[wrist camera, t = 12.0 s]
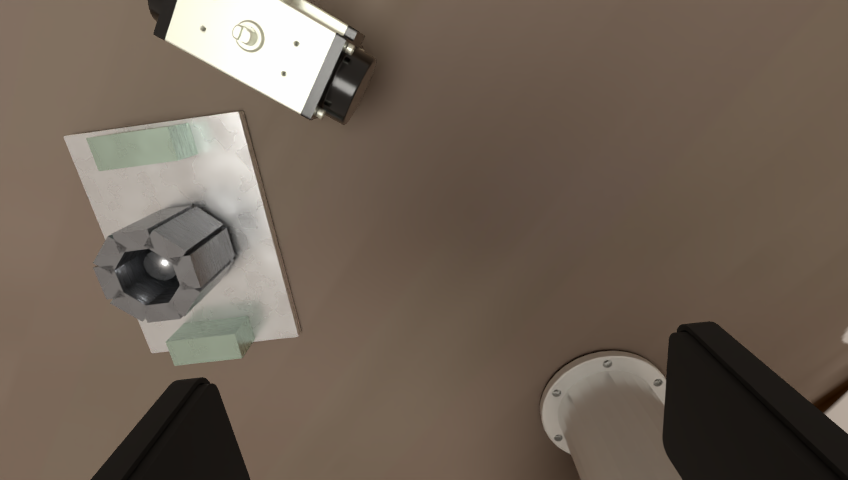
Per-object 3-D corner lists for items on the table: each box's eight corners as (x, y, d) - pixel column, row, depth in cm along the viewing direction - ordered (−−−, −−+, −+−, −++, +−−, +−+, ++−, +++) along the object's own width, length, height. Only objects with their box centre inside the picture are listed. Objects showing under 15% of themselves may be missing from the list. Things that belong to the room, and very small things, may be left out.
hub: (242, 280, 38) (210, 315, 32) (163, 289, 38) (118, 326, 32) (218, 201, 35) (179, 224, 30) (134, 212, 36) (80, 237, 30)
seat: (301, 330, 41) (283, 366, 36) (157, 347, 42) (120, 384, 37) (243, 110, 34) (211, 116, 29) (73, 134, 35) (11, 144, 30)
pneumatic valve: (361, 117, 34) (329, 136, 23) (219, 38, 33) (110, 16, 21) (393, 50, 33) (377, 35, 22) (246, -38, 31) (143, -105, 20)
